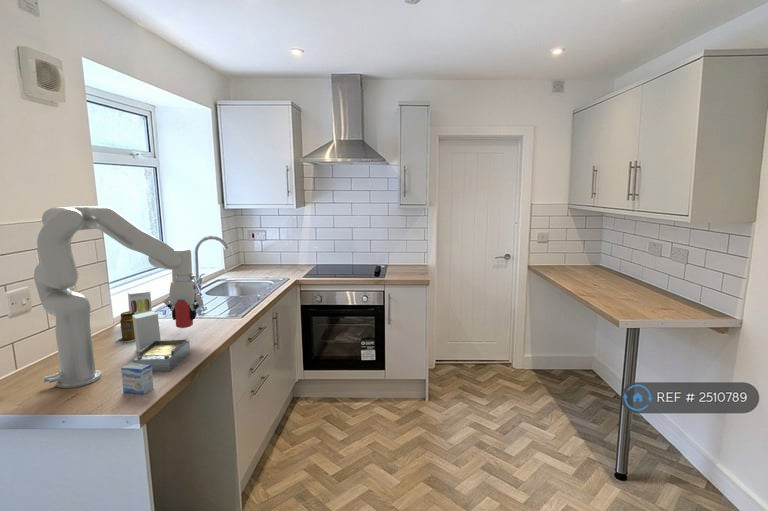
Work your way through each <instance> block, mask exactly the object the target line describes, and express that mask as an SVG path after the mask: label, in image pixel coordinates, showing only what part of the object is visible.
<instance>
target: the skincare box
mask: <svg viewBox="0 0 768 511" xmlns="http://www.w3.org/2000/svg"><path fill="white" fill-rule="evenodd" d="M132 317H133V325H134V333H135V340H134V342H135V347H136V349H135V350H136V351H137V352H138V353H139V351H140V350H142V349H143V348H145V347H146V346H147V345H149V344H150V343H152V342H153V341H154V340H162V339H161V332H160V331H161V330H160V322H159V314H158V313H157V312H155V311H154V310H152V311H150V312H146V313H141V314H136V315H132Z"/></svg>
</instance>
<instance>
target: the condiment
mask: <svg viewBox="0 0 768 511" xmlns="http://www.w3.org/2000/svg"><path fill="white" fill-rule="evenodd" d="M132 315H135V313H134V312H133V311H129V310H128V311H124V312H122V313H120V319H119V322H120V323H119V324H120V330H121V331H120V332H121V338H119V339H117V340H116V341H114V342H115V343H132V342H135V333H134V325H133V317H132Z"/></svg>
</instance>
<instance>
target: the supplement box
mask: <svg viewBox="0 0 768 511" xmlns="http://www.w3.org/2000/svg"><path fill="white" fill-rule="evenodd" d="M151 297H152V296H151V291H150V289H149V288H140V289H131V290H127V298H128V299H127V300H128V311H133V312H134V313H135V315H136V314H141V313H146V312H150V311H153V309H152V298H151Z"/></svg>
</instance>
